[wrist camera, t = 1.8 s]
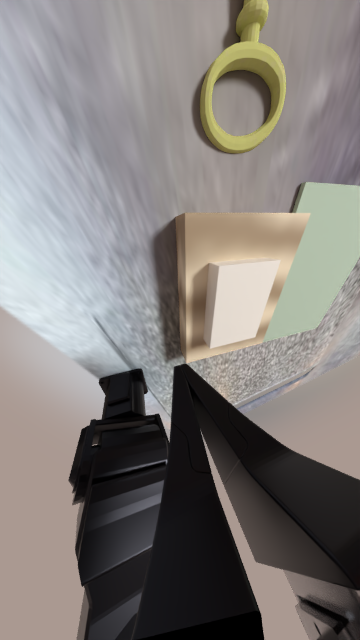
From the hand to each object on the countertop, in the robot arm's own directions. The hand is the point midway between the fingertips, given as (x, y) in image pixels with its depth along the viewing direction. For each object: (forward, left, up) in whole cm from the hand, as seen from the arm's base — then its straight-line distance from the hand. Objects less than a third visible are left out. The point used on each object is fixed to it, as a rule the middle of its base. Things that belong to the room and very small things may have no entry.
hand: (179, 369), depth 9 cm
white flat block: (0, -9, -8) cm, 12 cm away
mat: (0, -27, -11) cm, 29 cm away
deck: (0, -10, -11) cm, 15 cm away
